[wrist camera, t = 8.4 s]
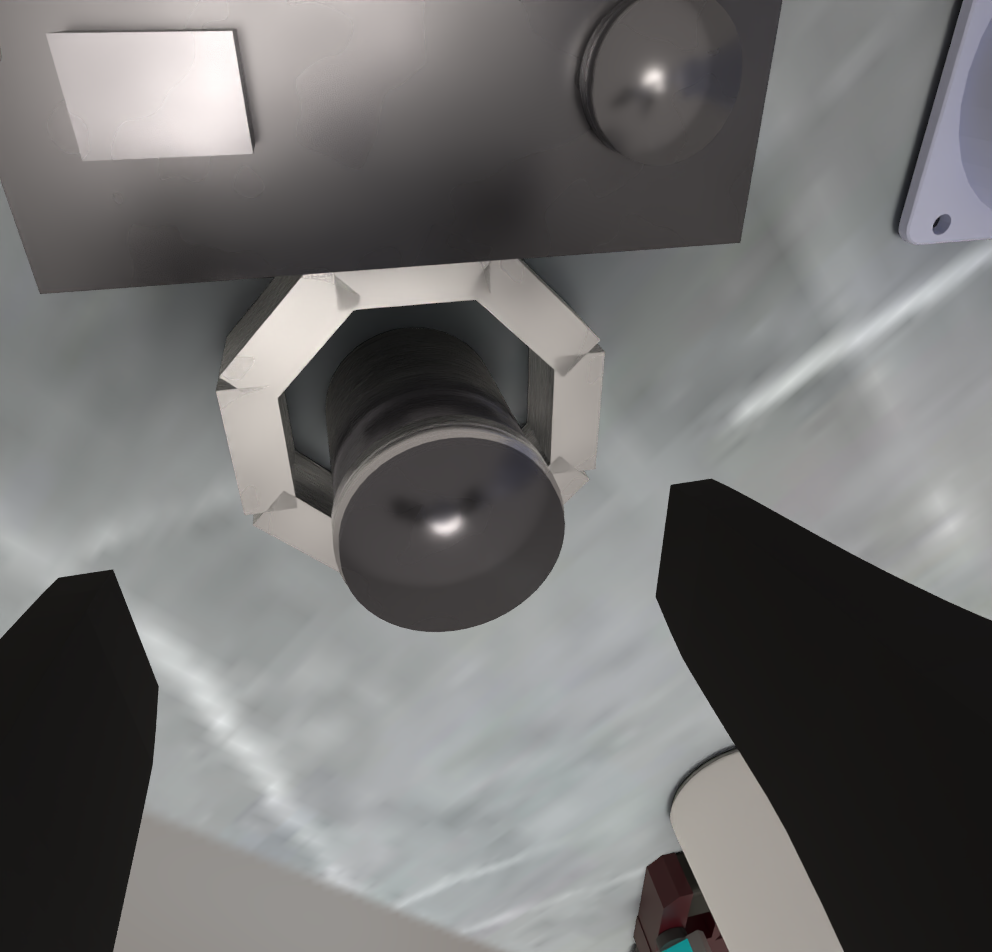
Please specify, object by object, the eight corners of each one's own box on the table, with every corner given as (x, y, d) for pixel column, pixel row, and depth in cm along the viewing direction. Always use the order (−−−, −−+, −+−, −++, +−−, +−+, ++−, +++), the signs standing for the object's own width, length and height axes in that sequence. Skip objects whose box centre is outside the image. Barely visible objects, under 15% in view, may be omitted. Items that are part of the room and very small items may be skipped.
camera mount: (704, -113, 15) (845, -151, 11) (632, 502, 23) (698, 600, 19) (-25, -133, 12) (-162, -190, 8) (184, 566, 20) (161, 693, 16)
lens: (520, 344, 19) (603, 462, 14) (469, 496, 21) (525, 645, 16) (341, 304, 17) (363, 421, 12) (305, 474, 19) (311, 631, 15)
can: (817, 727, 32) (1053, 1052, 22) (780, 817, 35) (969, 1133, 25) (679, 752, 30) (864, 1111, 21) (654, 843, 34) (803, 1188, 24)
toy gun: (614, 969, 41) (649, 1073, 37) (633, 845, 34) (678, 955, 30) (773, 926, 43) (823, 1021, 39) (820, 801, 36) (885, 900, 32)
